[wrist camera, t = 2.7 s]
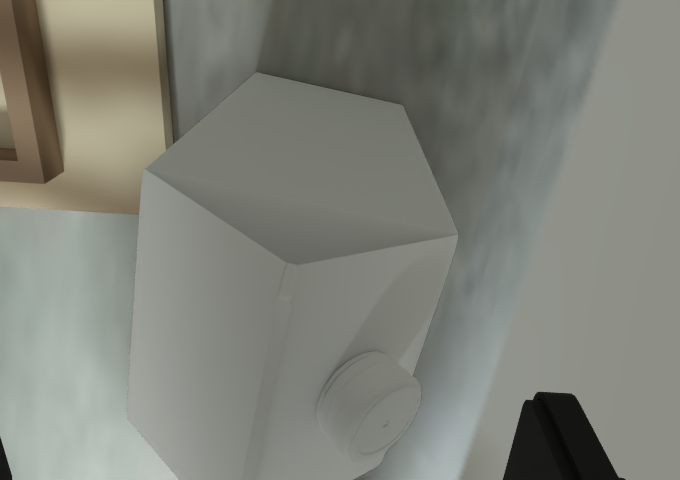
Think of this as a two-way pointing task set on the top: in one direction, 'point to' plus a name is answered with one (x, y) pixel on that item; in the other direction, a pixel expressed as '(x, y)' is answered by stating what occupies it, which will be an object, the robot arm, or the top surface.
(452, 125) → the top surface
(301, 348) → the milk carton
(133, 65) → the jig
